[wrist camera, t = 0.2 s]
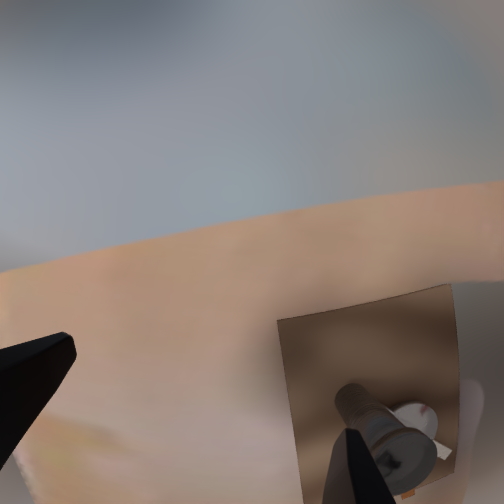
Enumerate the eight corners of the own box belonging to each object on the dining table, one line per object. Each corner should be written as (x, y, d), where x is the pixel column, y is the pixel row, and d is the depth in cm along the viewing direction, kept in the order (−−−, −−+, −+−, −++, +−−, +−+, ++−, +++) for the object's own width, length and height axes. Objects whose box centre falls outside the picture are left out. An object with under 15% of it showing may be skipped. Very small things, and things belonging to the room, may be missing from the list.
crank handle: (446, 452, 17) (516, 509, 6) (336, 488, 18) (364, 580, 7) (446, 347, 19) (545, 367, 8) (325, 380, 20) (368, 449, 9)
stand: (446, 470, 18) (454, 478, 17) (305, 512, 19) (306, 523, 17) (441, 284, 22) (451, 283, 20) (276, 320, 22) (276, 321, 21)
